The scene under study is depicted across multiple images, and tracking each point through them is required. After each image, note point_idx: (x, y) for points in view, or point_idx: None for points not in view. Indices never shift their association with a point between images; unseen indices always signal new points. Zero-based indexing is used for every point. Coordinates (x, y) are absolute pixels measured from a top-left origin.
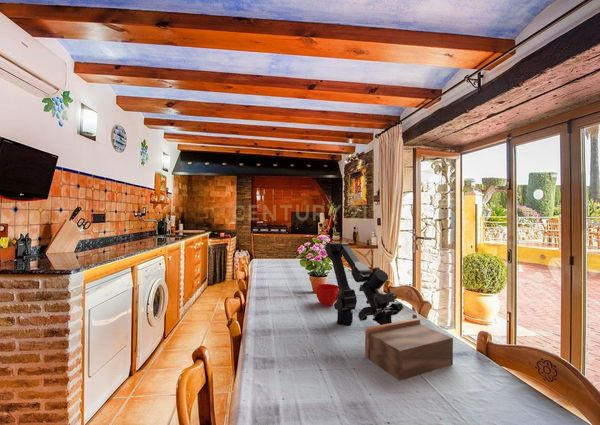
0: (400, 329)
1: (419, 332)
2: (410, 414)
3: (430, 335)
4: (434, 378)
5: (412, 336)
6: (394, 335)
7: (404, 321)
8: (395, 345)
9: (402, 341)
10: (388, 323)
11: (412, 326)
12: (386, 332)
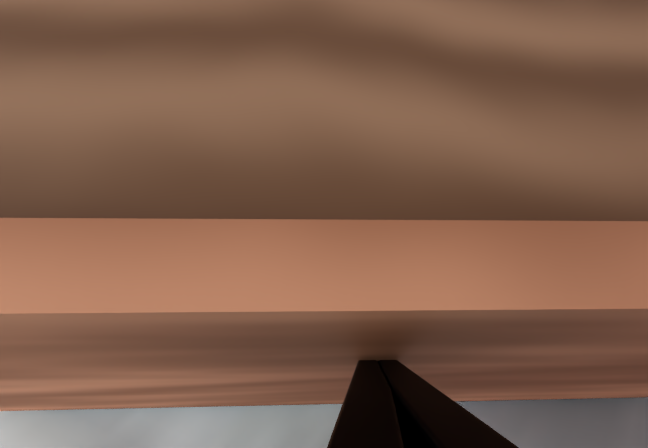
0: (343, 191)
1: (188, 64)
2: None
3: (164, 3)
4: None
5: (356, 39)
6: (543, 105)
7: (59, 265)
8: (622, 5)
9: (524, 20)
10: (447, 441)
11: (41, 207)
12: (619, 192)
